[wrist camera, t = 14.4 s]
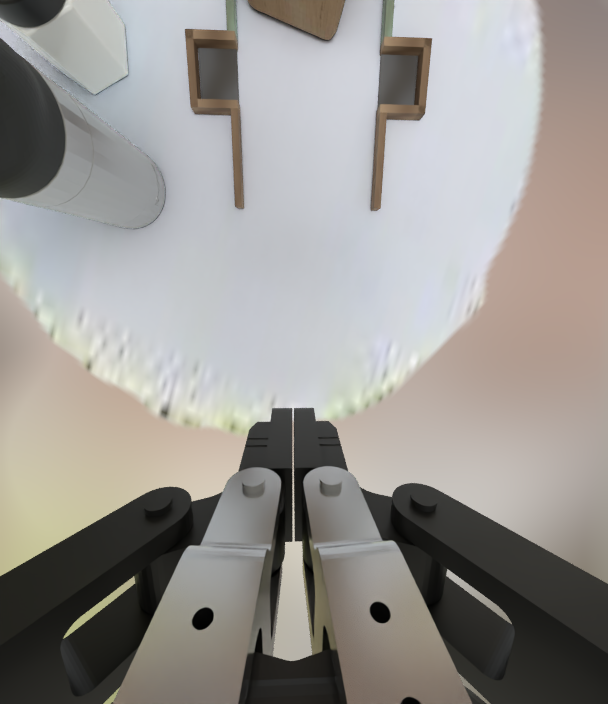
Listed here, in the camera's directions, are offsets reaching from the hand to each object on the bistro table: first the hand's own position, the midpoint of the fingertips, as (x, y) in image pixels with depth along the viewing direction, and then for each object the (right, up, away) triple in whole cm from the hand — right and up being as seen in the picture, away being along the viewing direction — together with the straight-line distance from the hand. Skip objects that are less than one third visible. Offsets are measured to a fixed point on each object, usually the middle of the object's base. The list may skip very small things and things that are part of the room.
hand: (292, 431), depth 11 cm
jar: (-23, +36, +23) cm, 49 cm away
